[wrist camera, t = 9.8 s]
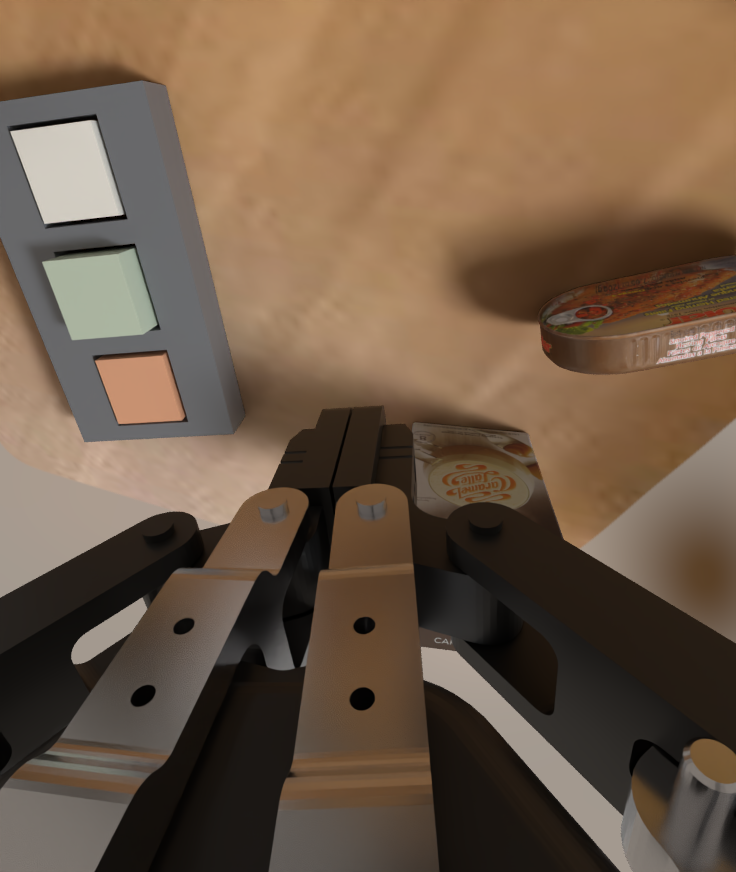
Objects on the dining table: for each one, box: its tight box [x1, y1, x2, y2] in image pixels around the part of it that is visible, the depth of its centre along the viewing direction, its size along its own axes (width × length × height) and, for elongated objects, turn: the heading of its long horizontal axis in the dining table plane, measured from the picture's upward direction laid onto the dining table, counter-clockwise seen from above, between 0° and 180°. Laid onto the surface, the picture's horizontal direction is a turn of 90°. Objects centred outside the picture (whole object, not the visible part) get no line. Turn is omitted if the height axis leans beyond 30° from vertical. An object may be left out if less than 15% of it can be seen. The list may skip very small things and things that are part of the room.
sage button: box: [42, 246, 159, 340], centre depth 35 cm, size 5×5×3 cm
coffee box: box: [412, 422, 563, 651], centre depth 35 cm, size 9×6×16 cm
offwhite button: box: [10, 120, 126, 224], centre depth 33 cm, size 5×5×3 cm
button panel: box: [0, 80, 245, 442], centre depth 36 cm, size 22×12×3 cm, turn 6°
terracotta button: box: [95, 350, 186, 424], centre depth 39 cm, size 5×5×3 cm
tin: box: [538, 255, 736, 375], centre depth 31 cm, size 15×3×8 cm, turn 104°
